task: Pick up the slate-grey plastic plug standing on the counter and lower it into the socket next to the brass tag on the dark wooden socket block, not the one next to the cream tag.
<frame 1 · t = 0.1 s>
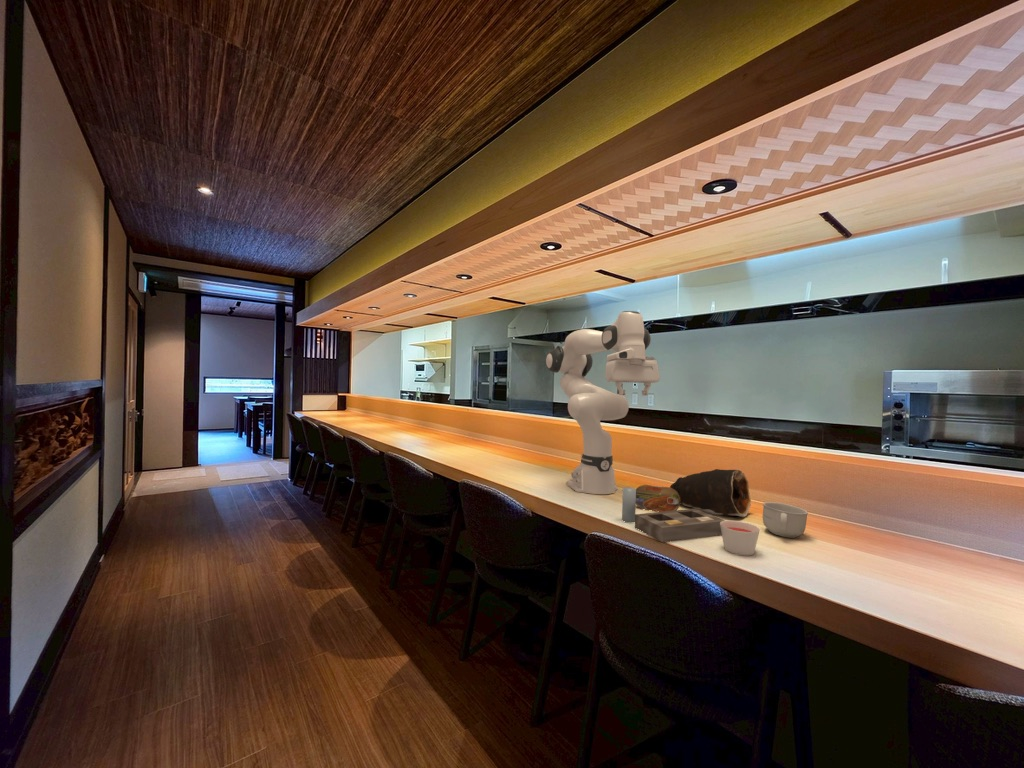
hand: (633, 395, 145), 39 cm above the table, tool pointing down, fingers open, 8 cm apart
teacup: (782, 536, 120), on the table
clay pot: (705, 509, 145), on the table
tin: (656, 511, 141), on the table
candle: (738, 551, 108), on the table
socket block: (679, 531, 121), on the table
plug: (628, 520, 130), on the table
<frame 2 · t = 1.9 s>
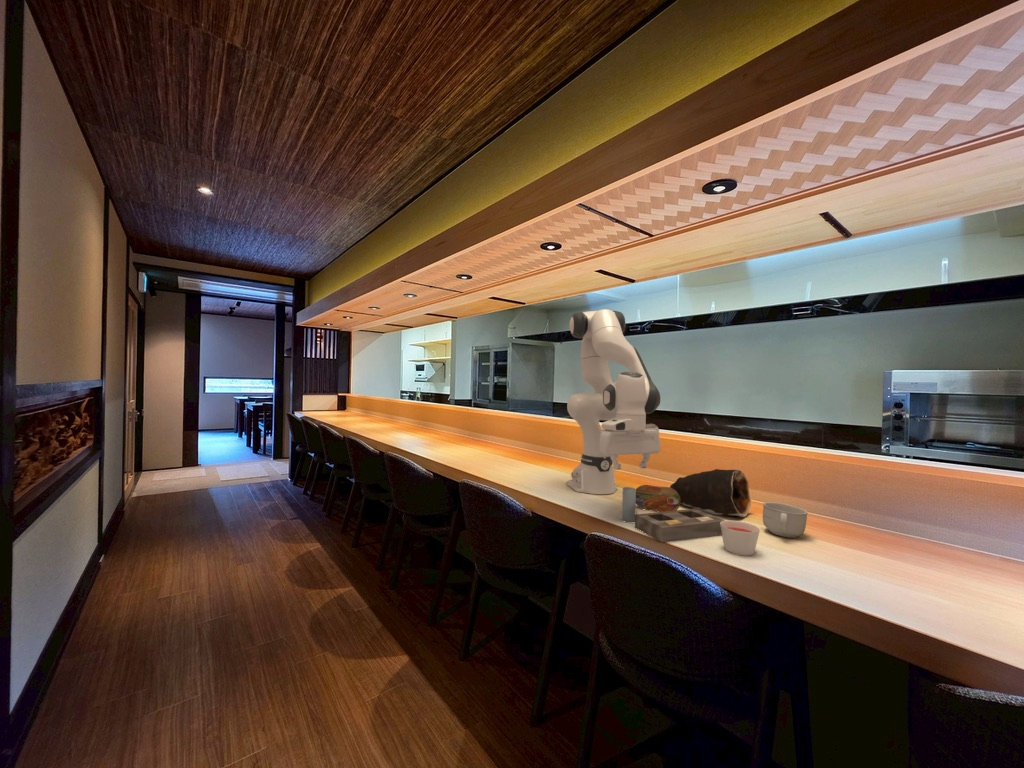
hand: (630, 468, 129), 16 cm above the table, tool pointing down, fingers open, 8 cm apart
nothing on the table moved.
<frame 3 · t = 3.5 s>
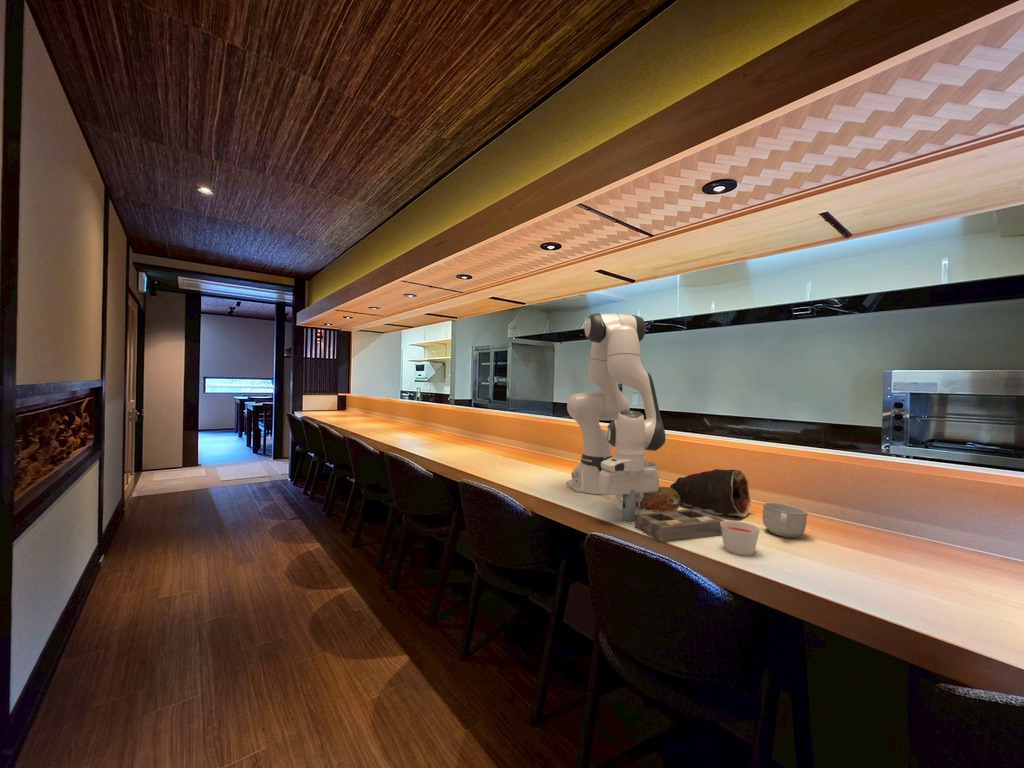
hand: (628, 507, 130), 4 cm above the table, tool pointing down, fingers closed on plug, 4 cm apart
plug: (628, 520, 130), on the table, touching gripper
everything else where it was.
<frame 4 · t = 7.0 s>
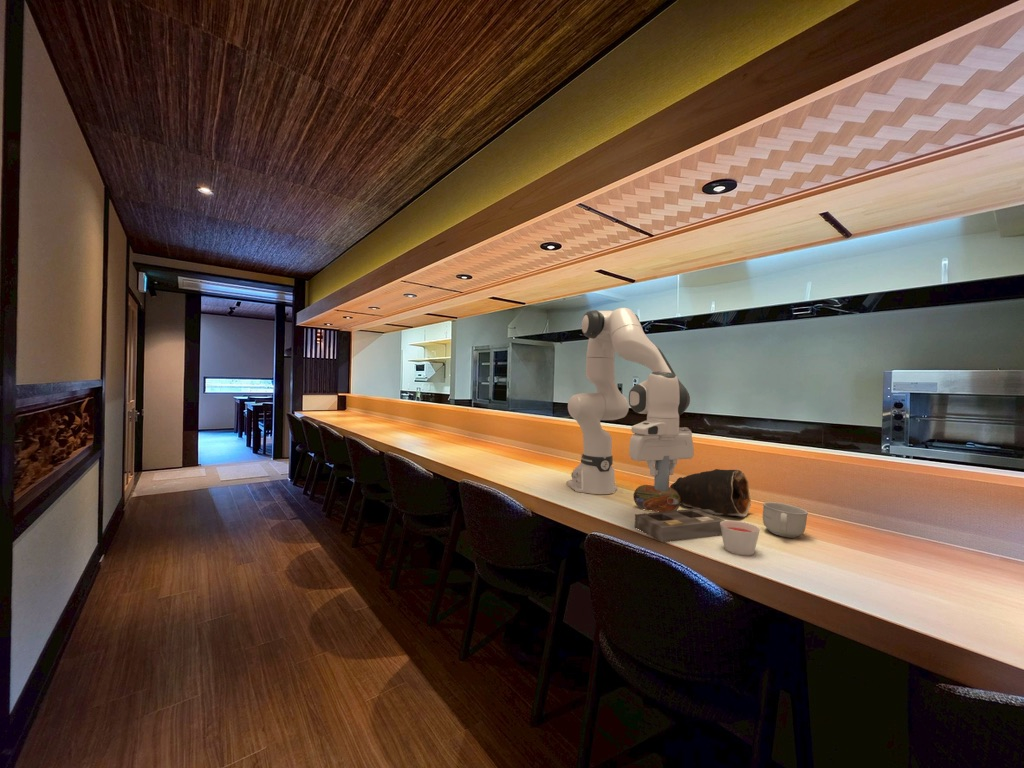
hand: (661, 475, 121), 16 cm above the table, tool pointing down, fingers closed on plug, 4 cm apart
plug: (661, 489, 121), point 12 cm above the table, touching gripper
everything else where it was.
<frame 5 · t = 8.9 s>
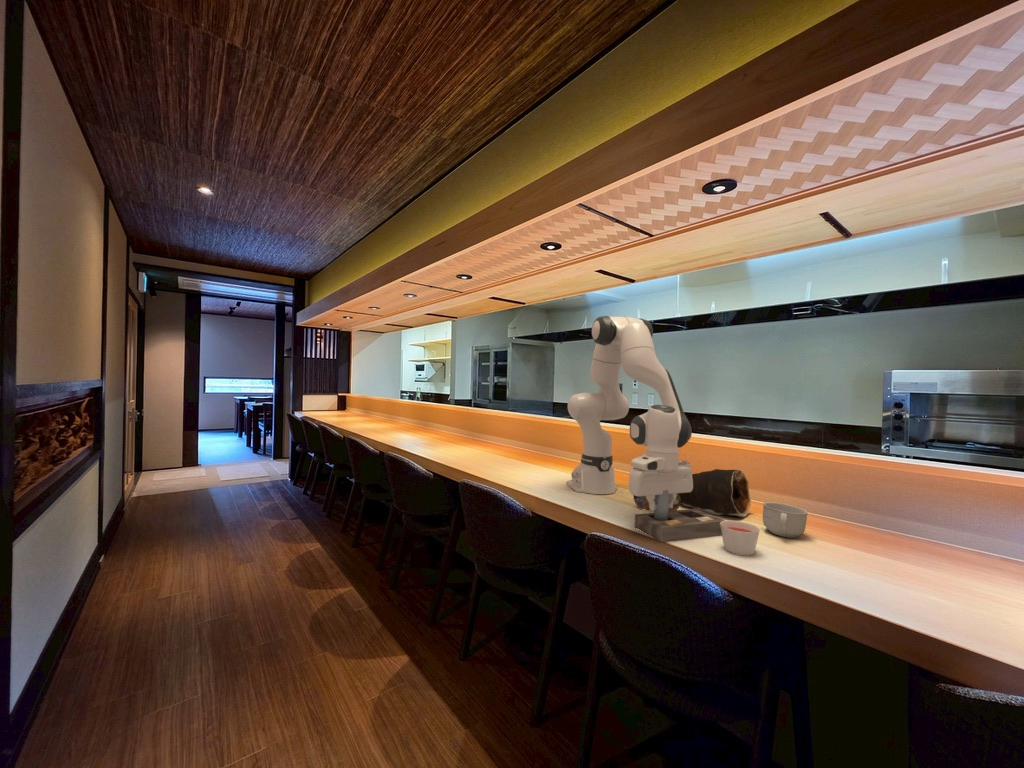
hand: (661, 509, 121), 6 cm above the table, tool pointing down, fingers closed on plug, 4 cm apart
plug: (660, 523, 121), point 2 cm above the table, touching gripper
everything else where it was.
when the fingers open (6 cm above the table, at t = 10.3 s): plug drops 1 cm, resting on socket block.
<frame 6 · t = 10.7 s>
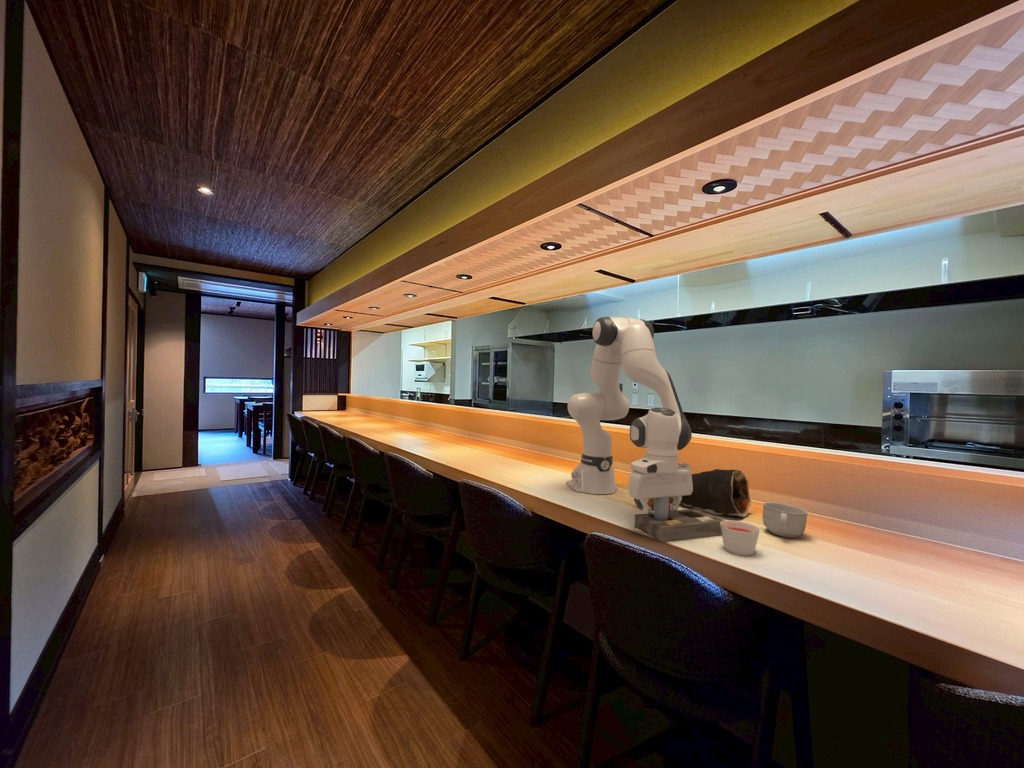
hand: (660, 511, 121), 6 cm above the table, tool pointing down, fingers open, 8 cm apart
plug: (660, 529, 121), resting on socket block
everything else where it was.
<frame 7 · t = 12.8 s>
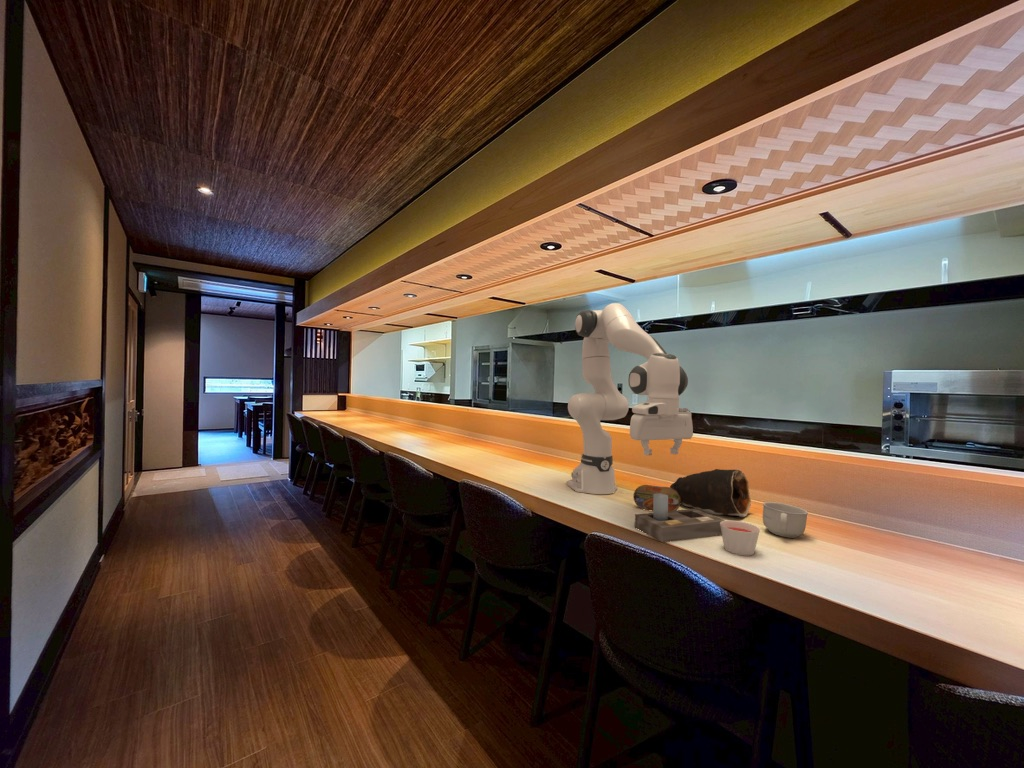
hand: (661, 454, 124), 22 cm above the table, tool pointing down, fingers open, 8 cm apart
nothing on the table moved.
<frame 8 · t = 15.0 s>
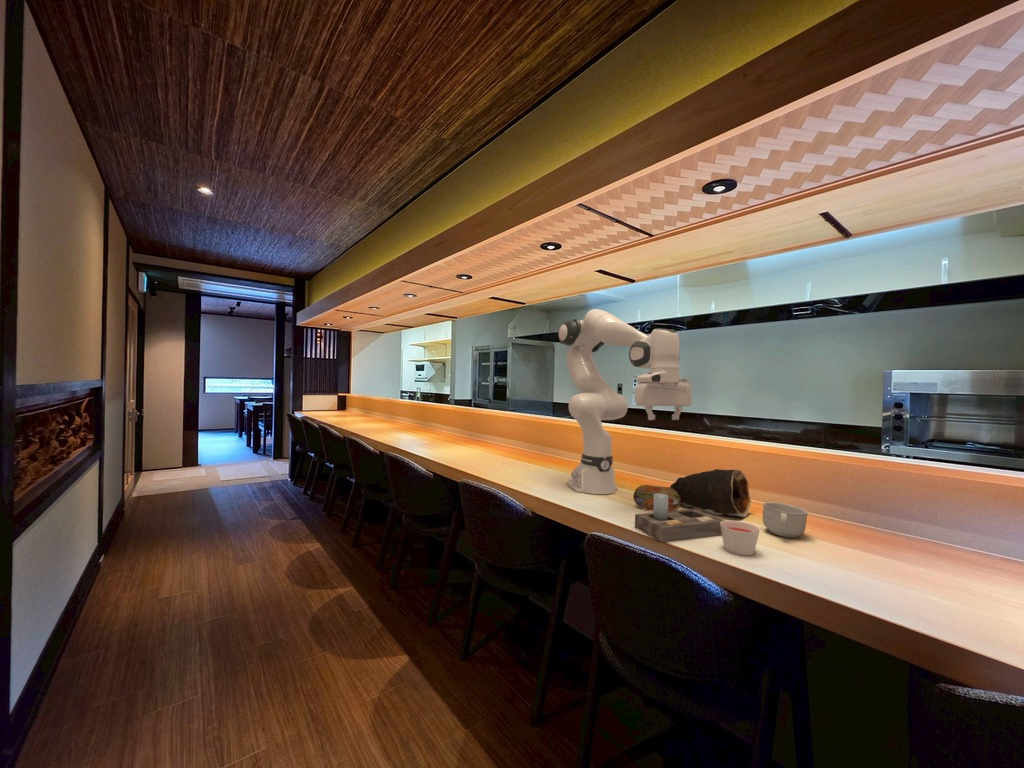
hand: (663, 419, 136), 31 cm above the table, tool pointing down, fingers open, 8 cm apart
nothing on the table moved.
at the end: plug 0.0 cm from the target spot on the socket block, point 0.4 cm above the socket block's base; plug tilted 1°; the gripper is holding nothing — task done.
